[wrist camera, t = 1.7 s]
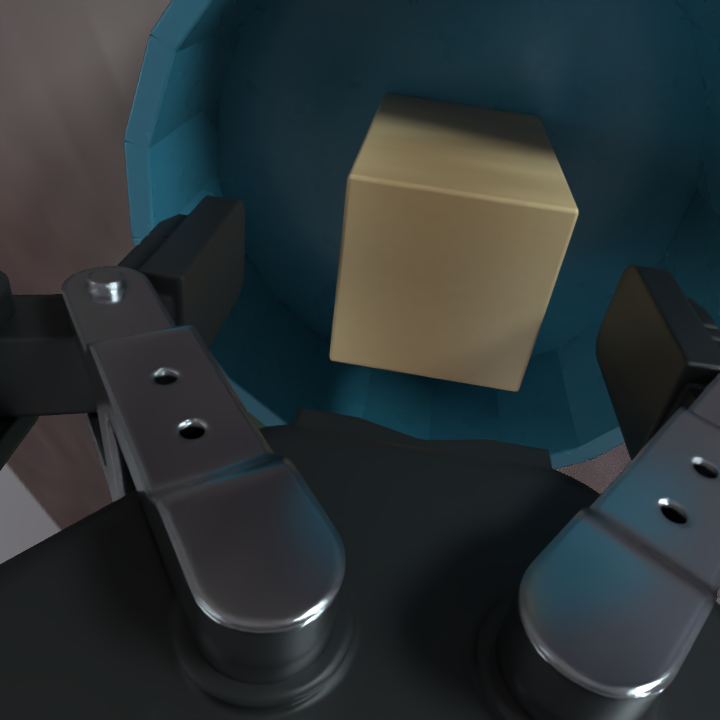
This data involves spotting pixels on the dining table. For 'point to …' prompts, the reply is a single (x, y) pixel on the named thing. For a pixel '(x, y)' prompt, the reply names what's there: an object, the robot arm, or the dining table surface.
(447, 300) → the block
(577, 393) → the tin
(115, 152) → the dining table surface
